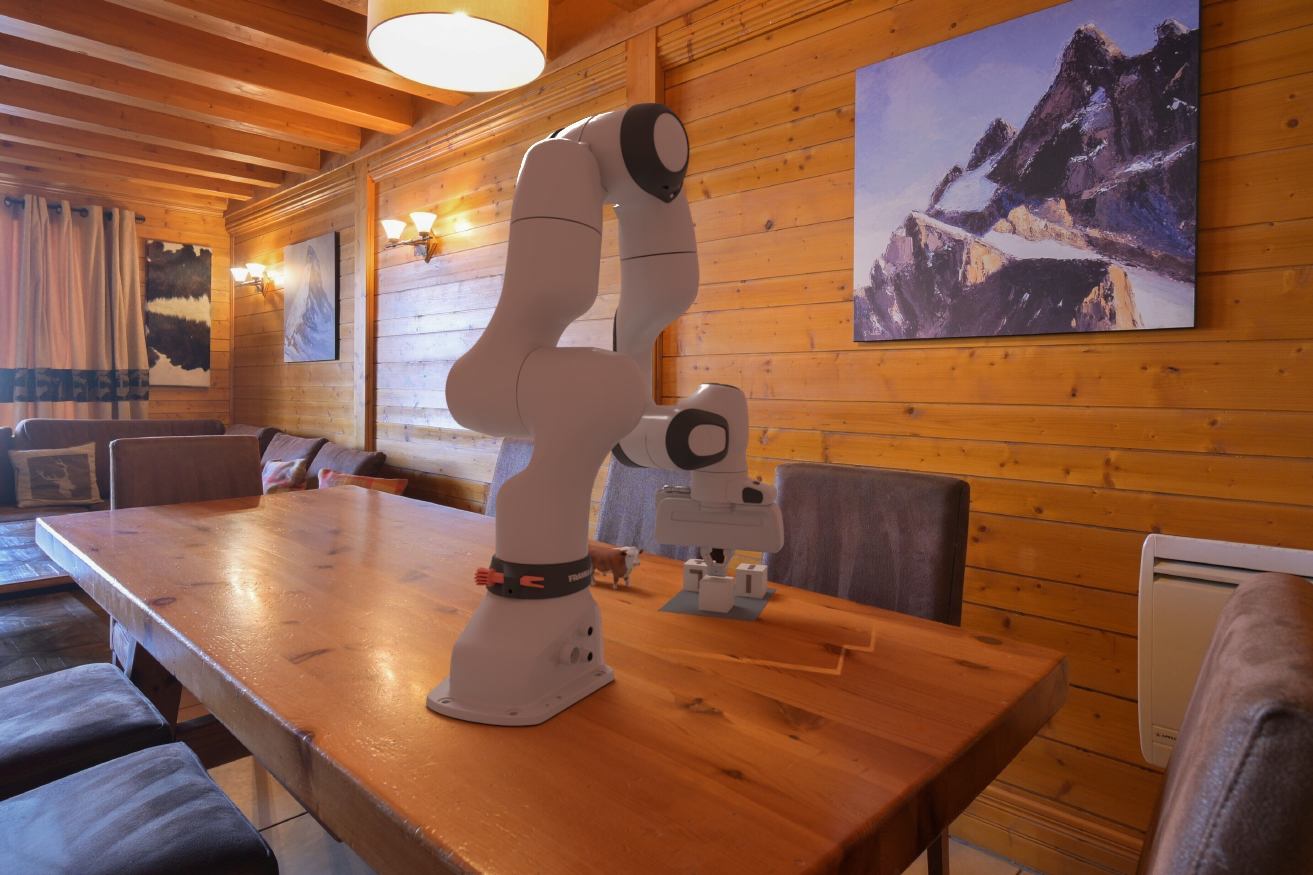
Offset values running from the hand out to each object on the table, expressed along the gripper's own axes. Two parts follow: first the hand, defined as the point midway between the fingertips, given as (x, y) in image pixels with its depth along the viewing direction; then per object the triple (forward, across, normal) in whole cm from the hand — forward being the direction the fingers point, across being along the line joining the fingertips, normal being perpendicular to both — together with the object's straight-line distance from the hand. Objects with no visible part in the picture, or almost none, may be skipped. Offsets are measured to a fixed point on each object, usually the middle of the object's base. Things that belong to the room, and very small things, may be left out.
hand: (717, 575), depth 115 cm
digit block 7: (+5, -5, +10) cm, 12 cm away
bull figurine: (+6, -20, +6) cm, 21 cm away
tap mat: (+6, 0, +5) cm, 7 cm away
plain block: (+5, 0, 0) cm, 5 cm away
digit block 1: (+5, +4, +10) cm, 11 cm away
